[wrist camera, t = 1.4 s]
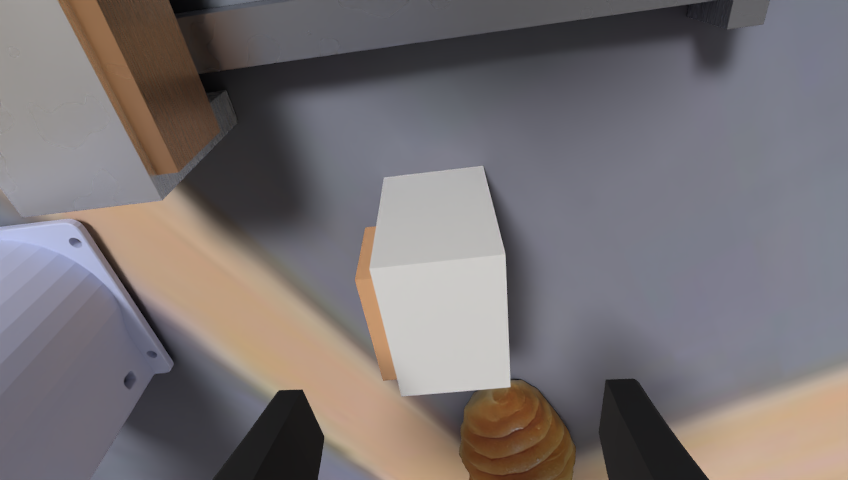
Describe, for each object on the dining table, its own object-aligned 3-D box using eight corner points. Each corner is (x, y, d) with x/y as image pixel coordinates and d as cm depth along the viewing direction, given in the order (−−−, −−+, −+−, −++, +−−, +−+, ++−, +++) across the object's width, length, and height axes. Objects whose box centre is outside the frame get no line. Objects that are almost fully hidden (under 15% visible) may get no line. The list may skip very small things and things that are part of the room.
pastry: (435, 385, 26) (437, 447, 23) (552, 359, 25) (571, 421, 22) (476, 469, 31) (482, 530, 28) (575, 451, 30) (593, 512, 27)
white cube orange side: (490, 281, 21) (510, 387, 16) (394, 291, 22) (385, 397, 17) (483, 165, 18) (505, 254, 13) (369, 179, 18) (349, 271, 13)
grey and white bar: (708, 59, 16) (839, 118, 11) (112, 138, 17) (-12, 221, 12) (755, -169, 12) (977, -236, 7) (13, -45, 14) (-212, -32, 9)
